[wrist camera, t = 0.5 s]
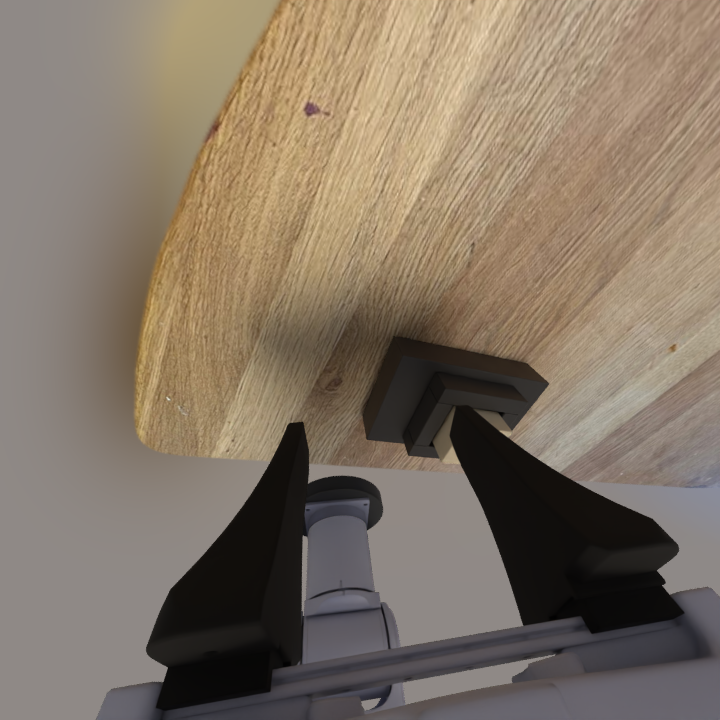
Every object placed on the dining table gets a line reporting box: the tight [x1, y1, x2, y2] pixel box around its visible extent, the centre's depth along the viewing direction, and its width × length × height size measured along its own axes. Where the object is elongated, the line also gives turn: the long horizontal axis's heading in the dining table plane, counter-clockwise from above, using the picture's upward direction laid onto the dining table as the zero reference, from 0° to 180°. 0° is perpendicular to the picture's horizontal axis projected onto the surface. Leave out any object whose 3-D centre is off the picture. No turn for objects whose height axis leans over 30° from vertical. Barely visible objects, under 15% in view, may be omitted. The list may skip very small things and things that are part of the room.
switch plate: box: [363, 336, 549, 459], centre depth 22 cm, size 12×8×4 cm, turn 74°
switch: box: [432, 405, 512, 464], centre depth 19 cm, size 4×4×2 cm
